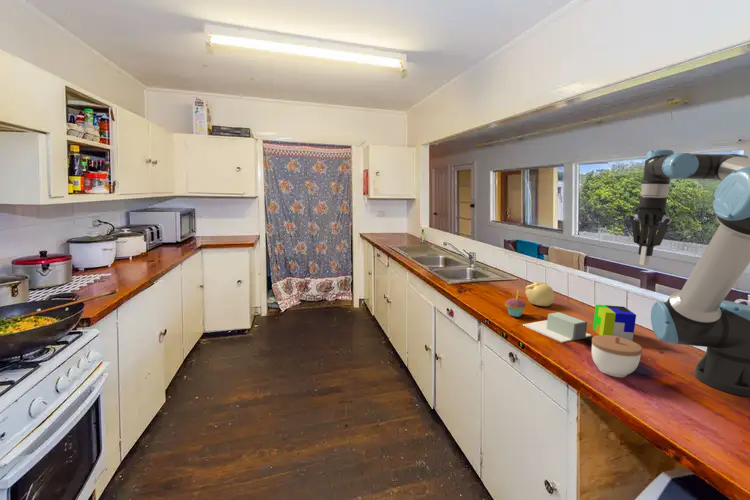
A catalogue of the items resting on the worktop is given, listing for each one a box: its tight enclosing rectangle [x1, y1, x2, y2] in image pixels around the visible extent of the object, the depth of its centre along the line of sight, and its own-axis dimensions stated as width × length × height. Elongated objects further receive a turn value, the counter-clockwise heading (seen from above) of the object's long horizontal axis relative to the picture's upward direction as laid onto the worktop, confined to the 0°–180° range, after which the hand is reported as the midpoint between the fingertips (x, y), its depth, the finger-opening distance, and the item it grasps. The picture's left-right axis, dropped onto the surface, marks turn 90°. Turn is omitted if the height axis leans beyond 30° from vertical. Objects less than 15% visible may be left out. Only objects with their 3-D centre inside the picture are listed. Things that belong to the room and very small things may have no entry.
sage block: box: [546, 311, 588, 341], centre depth 141 cm, size 6×6×12 cm
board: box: [522, 319, 592, 343], centre depth 146 cm, size 18×16×1 cm
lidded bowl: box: [591, 334, 643, 378], centre depth 113 cm, size 13×13×11 cm
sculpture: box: [525, 281, 555, 307], centre depth 178 cm, size 12×12×11 cm
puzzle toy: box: [592, 304, 637, 342], centre depth 143 cm, size 10×10×10 cm
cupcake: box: [504, 289, 527, 318], centre depth 162 cm, size 9×8×12 cm
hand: (643, 264), depth 133 cm, fingers closed
